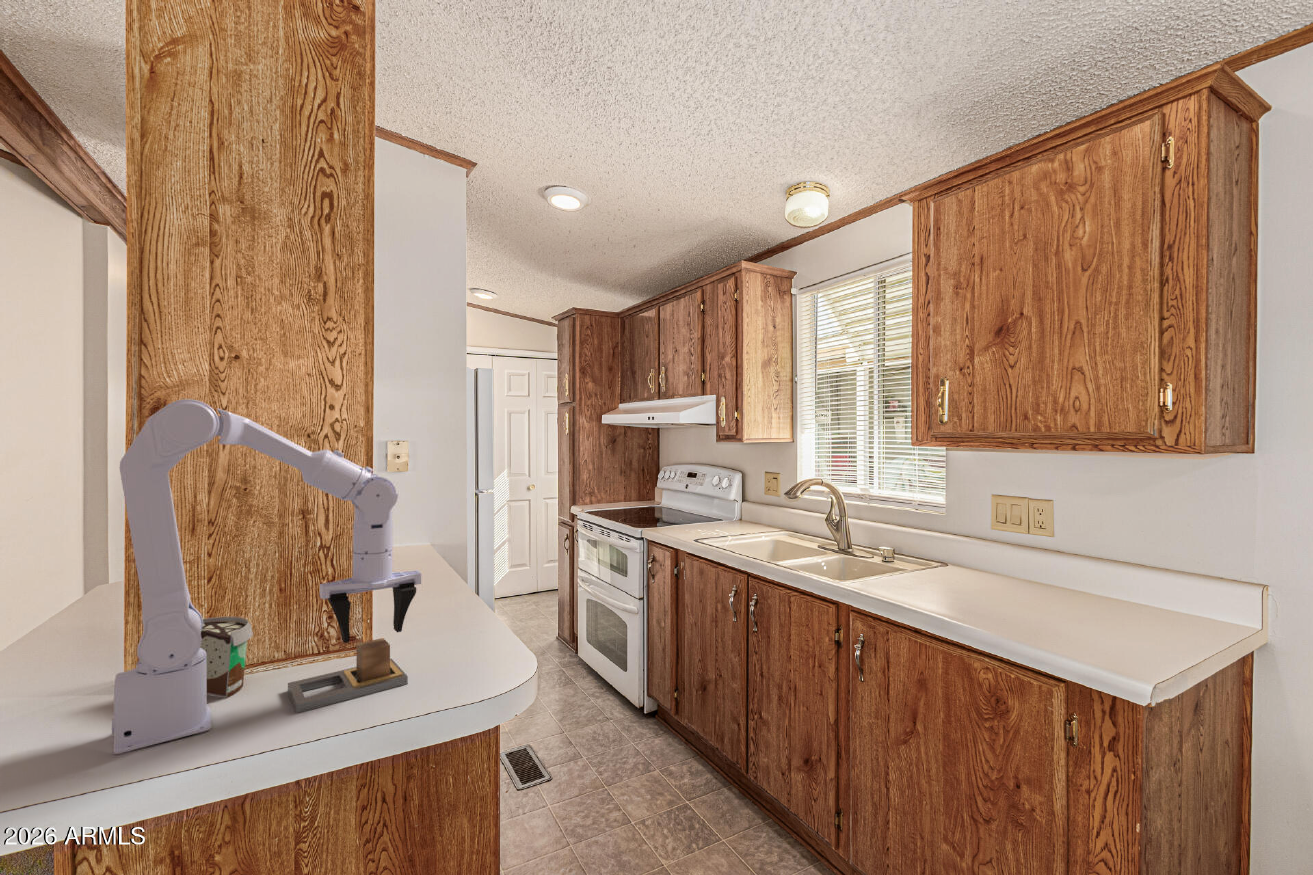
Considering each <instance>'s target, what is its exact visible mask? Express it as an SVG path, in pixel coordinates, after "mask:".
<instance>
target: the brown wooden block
mask: <svg viewBox="0 0 1313 875" xmlns="http://www.w3.org/2000/svg"><path fill="white" fill-rule="evenodd" d="M355 644H356V647H355V648H356V649H355V650H356V652H355V653H356V655H355V656H356V659H355V660H356V666H355V667H356V681H357V682H358V683H360V682H364V681H368V680H372V679H376V678H380V677H384V676H388V675H390V659H391V644H390V643H389V642H388V641H387V640H386V639H385V638H384V637H382V638H381V637H380V638H377V639H372V640H367V641H362V642H357V643H355Z"/></svg>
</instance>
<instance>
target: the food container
mask: <svg viewBox="0 0 1313 875" xmlns="http://www.w3.org/2000/svg"><path fill="white" fill-rule="evenodd" d="M253 633H254V632H253V629H252V625H251V623H249V620H248V619H247V618H245V617H241V616H216V617H208V618H207V617H206V618H203V627H202V631H201V638H202V641H201V647H200V648H201V649H203V650H205V651H206V653H207V655H206V657H207V696H211V697H217V698H221V699H223V698H224V699H228V698H230V697H232V696H234V695H235V694H237V693H238V692H240V691H241V690H242V688H244V679H245V678H244V677H245V671H246V670H245V669H246V659H247V648H248V647H247V646H248V641H249V640H250V639H251V638H252V637H253Z"/></svg>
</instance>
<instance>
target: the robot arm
mask: <svg viewBox="0 0 1313 875" xmlns="http://www.w3.org/2000/svg"><path fill="white" fill-rule="evenodd" d="M216 411H217V412H218V414H220V416H219V415H218V414H217V412H216ZM216 411H215V409H213V407H211V406H210V405H209V404H207V403H205V402H204V401H200V400H198V399H197V400H196V399H191V398H190V399H189V398H187V399H186V398H185V399H178V400H175V401H172V402H170V403H168V404H167V405H165V406H164V407H162V408H161V409H159V410H158V411H156V412H155V413H153V414H152V415H151V416H149V417H148V418H147V420H146V421H145V423H144V424H143V427H142V428H141V430H140V431H139V433H138V434H137V436H136V437H135V439H134V440H133V441H132V443H131V444H130V446H129V447H128V449H127V450H126V452H125V453H124V455H123V456H122V458H121V459H120V461H119V474H120V478H121V479H120V480H121V485H122V490H123V496H124V497H123V498H124V503H125V509H126V513H127V514H126V515H127V519H128V526H129V531H130V537H131V543H132V544H131V545H132V549H133V554H134V555H133V556H134V562H135V566H136V571H137V578H138V583H139V588H140V589H139V590H140V595H141V617H142V618H141V621H142V628H143V630H142V631H143V632H142V635H141V638H140V639H139V642H138V645H137V647H136V654H137V658H138V661H137V663H136V665H135V667H134V668H133V669H130V670H126V671H122V672H118V673H116V674H115V677H114V692H113V718H112V719H111V734H113V754H114V755H118V754H123V753H126V752H130V751H131V752H132V751H134V750H138V749H142V748H145V747H146V748H147V747H149V746H153V745H156V744H162V743H164V742H165V743H166V742H168V741H172V740H177V739H181V738H184V737H188V736H191V735H196V734H199V733H204V732H207V731H210V730H211V729H212V719H211V709H210V705H208V704H207V703H208V702H207V698H208V695H207V657H206V655H207V653H206V651H205V650H203V649H201V648H200V647H201V641H202V638H201V631H202V627H203V619H204V618H203V617H202V614H201V612H200V611H199V610H197V608H196V607H195V606H194V605H193V603H192V600H191V595H190V590H189V588H188V584H187V580H186V579H187V578H186V572H185V566H184V560H183V555H182V549H181V548H182V547H181V543H180V534H179V531H178V524H177V518H176V512H175V506H174V500H173V494H172V489H171V487H172V486H171V482H170V474H169V473H170V471H171V470H172V469H173V468H174V467H175V466H177V464H179V463H180V461H181V460H182V459H184V458H185V457H186V455H187V454H188V453H191V452H192V451H195V450H197V449H198V448H201V447H202V446H204V445H206V444H207V443H210V442H211V441H212V440H214V438H215V437H219V439H218V445H226V446H227V445H232V446H233V445H235V446H245V447H248V448H250V449H252V450H254V451H256V452H260V453H262V454H264V455H266V456H268V457H270V458H272V459H275V460H277V461H279V462H282V463H284V464H287V465H288V466H291V467H293V468H295V469H297V470H300V474H301V477H302V481H303V482H304V483H305V484H307V485H309V486H311V487H314V488H315V489H318V490H320V491H322V492H323V493H326V494H328V495H331V496H333V497H335V498H337V499H340V500H342V501H344V502H346V501H350V502H351V503H352V505H353V506H354V507H353V508H354V509H353V510H354V511H353V512H354V513H353V515H354V516H353V517H354V518H353V524H352V577H350V578H349V577H348V578H343V579H341V580H339V579H338V580H335V581H331V582H326V583H320V584H319V598H320V599H321V600H327V601H328V603H329V605H330V606H331V609H332V611H333V614H334V615H335V617H336V621H337V624H338V627H339V631H340V636H341V641H342V642H343V643H344V644H347V643H350V638H351V634H350V632H351V631H350V614H351V613H350V611H351V605H352V604H351V603H352V602H351V601H350V600H349V596H348V595H351V594H352V595H353V594H358V593H364V592H365V593H366V592H370V591H377V590H385V589H390V588H392V596H393V622H392V623H393V630H394V631H395V632H396V633H401V632H402V631H403V626H404V622H405V618H406V615H407V612H408V609H409V607H410V605H411V603H412V602H413V599H414V598H415V596H416V593H417V587H416V585H417V586H418V585H422V572H421V571H420V570H412V571H410V570H409V571H395V572H393V562H394V560H393V559H394V558H393V557H394V556H393V555H394V554H393V553H394V552H393V549H394V545H393V544H394V533H393V532H394V521H393V508H394V506H395V505H396V503H397V502H398V498H399V494H398V493H397V491H396V490H397V489H396V487H395V485H394V483H393V482H392V481H391V480H389V479H387V478H385V477H382V476H380V475H378V474H376V473H373V471H374V470H373V468H371V467H370V466H365V467H363V466H360V465H358V464H356V463H354V462H353V461H351V460H348V459H346V458H344V455H345V453H343V452H341V451H339V449H338V450H337V449H335V450H333V452H332V451H331V450H329V449H322V450H317V451H314V452H313V451H310V450H308V449H307V448H304V447H303V446H300V445H298V444H297V443H295V442H293V441H292V440H289V439H287V438H285V437H284V436H282V435H280V434H278V433H276V432H274V431H272V430H270V429H268V428H266V427H265V426H263V425H260V424H259V423H258V422H255V421H253V420H252V419H250V418H248V417H244V416H242V415H238V414H236V413H233V412H229V411H227V410H224V409H221V408H216Z"/></svg>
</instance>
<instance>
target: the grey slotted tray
mask: <svg viewBox="0 0 1313 875" xmlns="http://www.w3.org/2000/svg"><path fill="white" fill-rule="evenodd" d="M408 678H409V676H408V675H407V674H406V673H405V671H403V669H401V667H400V666H399V665H398V664H397V663H396V662H395V661H394V659H393V658H390V675H388V676H384V677H380V678H376V679H372V680H368V681H364V682H360V683H358V682H357V681H356V666H354V667H350V668H346V669H342V670H337V671H333V672H330V673H325V674H324V673H323V674H321V675H316V676H312V677H308V678H303V679H300V680H295V681H290V682H287V692H288V695H289V697H290V700H291V702H292V704H293V707H294V710H295V713H296V714H299V713H303V712H307V711H310V710H314V709H317V708H321V707H325V706H329V705H334V704H337V703H340V702H344V701H347V700H348V701H349V700H352V699H356V698H359V697H364V696H367V695H370V694H373V693H378V692H382V691H385V690H389V689H393V688H397V687H401V686H405V685H408V683H409V682H408ZM335 684H339V685H340V686H341V687H342V688H339V689H333V690H331V691H330V690H329V691H326V692H322V693H319V694H315V695H311V696H307V697H305V695H304V693H303V692H306V691H311V690H315V689H319V688H323V687H328V686H331V685H335Z"/></svg>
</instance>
